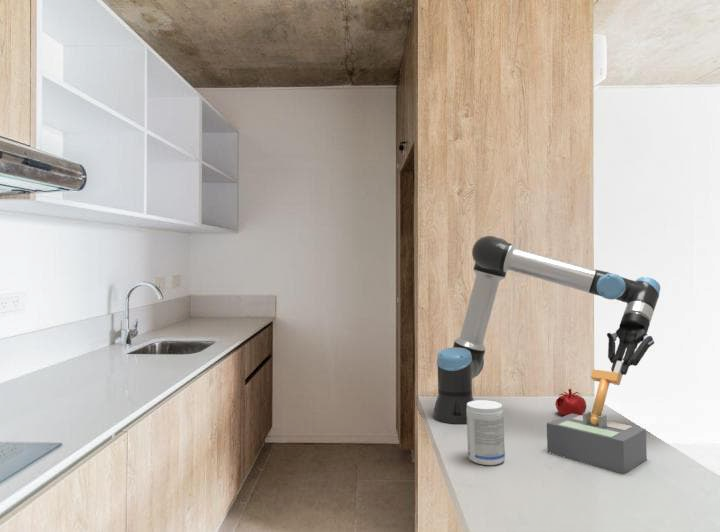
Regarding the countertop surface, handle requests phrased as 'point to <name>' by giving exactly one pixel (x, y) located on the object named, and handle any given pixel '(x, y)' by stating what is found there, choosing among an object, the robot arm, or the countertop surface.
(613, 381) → the lever
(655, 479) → the countertop surface
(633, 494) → the countertop surface
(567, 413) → the pomegranate
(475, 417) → the supplement tub
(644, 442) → the box
